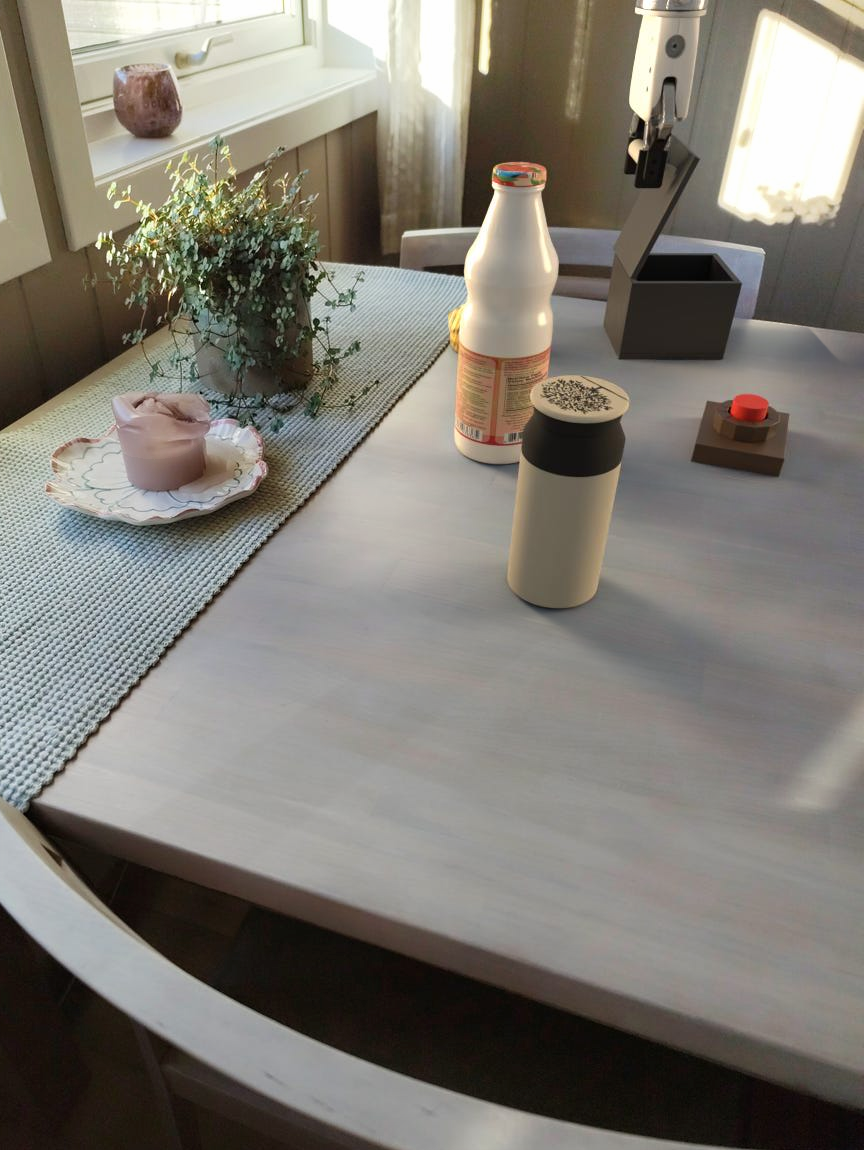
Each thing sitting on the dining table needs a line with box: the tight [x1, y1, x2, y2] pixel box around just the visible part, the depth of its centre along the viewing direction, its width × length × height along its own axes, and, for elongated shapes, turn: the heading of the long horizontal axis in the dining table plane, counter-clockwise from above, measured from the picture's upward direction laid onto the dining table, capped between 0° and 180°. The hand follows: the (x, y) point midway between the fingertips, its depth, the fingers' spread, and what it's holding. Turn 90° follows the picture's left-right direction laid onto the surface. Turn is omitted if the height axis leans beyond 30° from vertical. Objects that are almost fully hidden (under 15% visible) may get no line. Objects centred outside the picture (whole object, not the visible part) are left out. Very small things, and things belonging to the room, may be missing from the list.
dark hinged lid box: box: [602, 252, 743, 361], centre depth 118 cm, size 14×12×10 cm
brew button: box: [730, 393, 770, 422], centre depth 96 cm, size 4×4×2 cm
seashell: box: [447, 302, 466, 354], centre depth 118 cm, size 10×7×8 cm
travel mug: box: [506, 374, 630, 609], centre depth 74 cm, size 8×8×18 cm
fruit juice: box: [453, 161, 559, 465], centre depth 90 cm, size 9×9×28 cm
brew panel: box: [690, 399, 790, 478], centre depth 98 cm, size 11×9×4 cm
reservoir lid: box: [612, 133, 701, 280], centre depth 110 cm, size 14×12×6 cm
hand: (641, 179), depth 108 cm, fingers closed on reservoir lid, 5 cm apart
